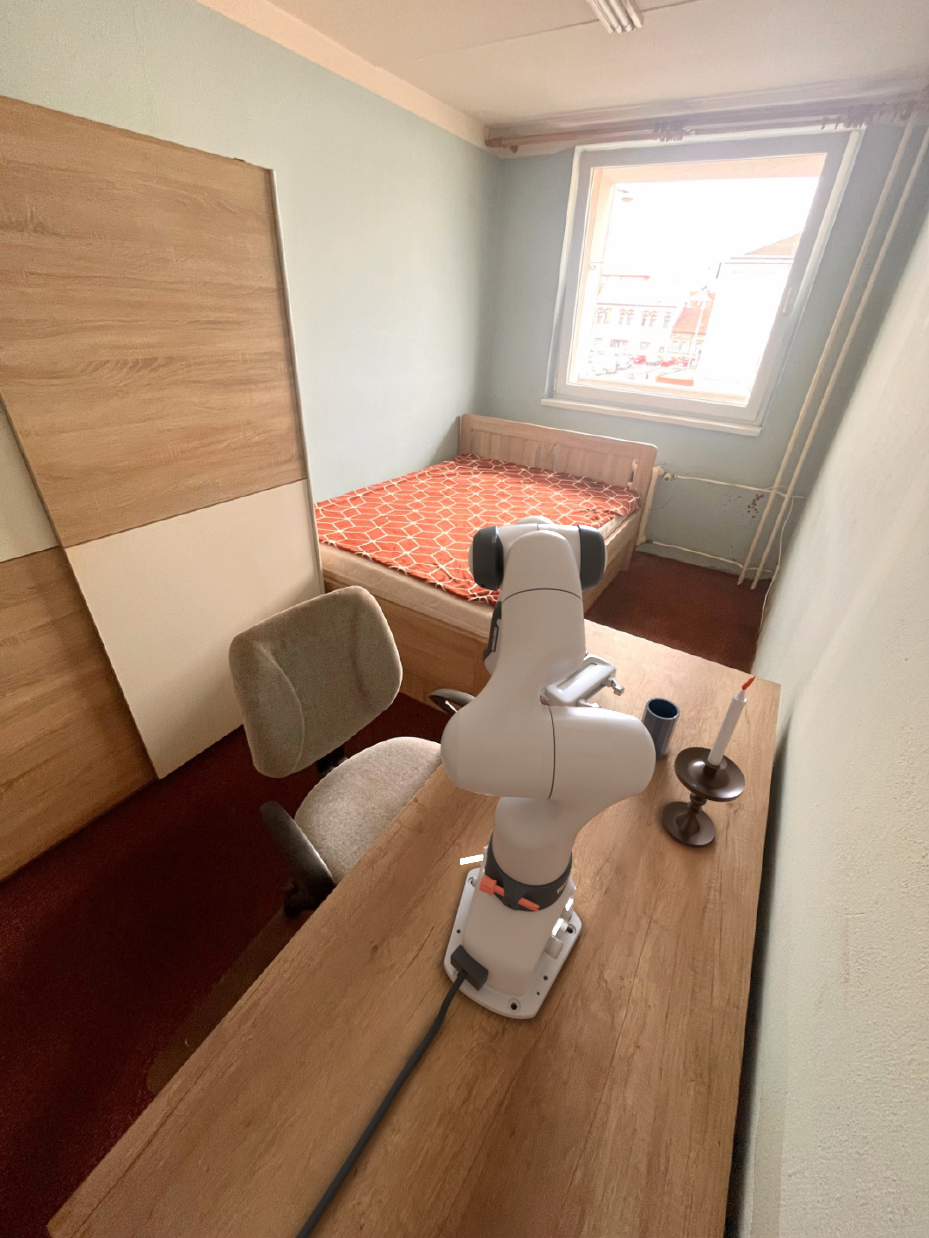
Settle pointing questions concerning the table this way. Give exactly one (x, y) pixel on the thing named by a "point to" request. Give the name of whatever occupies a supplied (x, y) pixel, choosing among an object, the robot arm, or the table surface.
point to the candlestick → (705, 782)
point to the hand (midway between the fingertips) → (611, 701)
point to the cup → (660, 723)
